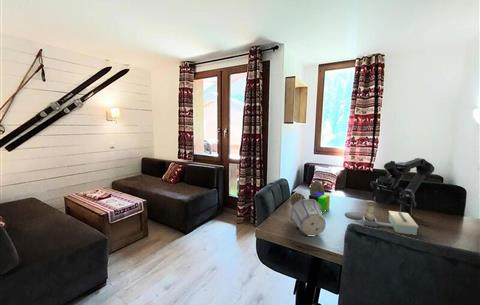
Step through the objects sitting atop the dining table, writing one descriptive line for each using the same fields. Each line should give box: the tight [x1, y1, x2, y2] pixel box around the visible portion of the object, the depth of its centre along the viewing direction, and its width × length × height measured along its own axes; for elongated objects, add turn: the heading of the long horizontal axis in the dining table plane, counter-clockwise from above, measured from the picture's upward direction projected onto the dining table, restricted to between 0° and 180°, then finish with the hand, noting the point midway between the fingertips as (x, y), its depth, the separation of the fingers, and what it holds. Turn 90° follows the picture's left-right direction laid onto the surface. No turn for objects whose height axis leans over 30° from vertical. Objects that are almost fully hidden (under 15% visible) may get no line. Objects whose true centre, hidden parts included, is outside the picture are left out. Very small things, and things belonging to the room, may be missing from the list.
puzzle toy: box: [308, 192, 331, 213], centre depth 152 cm, size 10×10×10 cm
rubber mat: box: [344, 211, 363, 220], centre depth 141 cm, size 10×10×1 cm
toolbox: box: [361, 210, 419, 236], centre depth 128 cm, size 19×24×6 cm
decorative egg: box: [309, 180, 325, 195], centre depth 171 cm, size 11×11×15 cm
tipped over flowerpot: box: [289, 192, 327, 236], centre depth 127 cm, size 18×18×30 cm
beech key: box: [365, 200, 377, 221], centre depth 130 cm, size 5×5×13 cm
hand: (379, 199), depth 132 cm, fingers open, 9 cm apart
